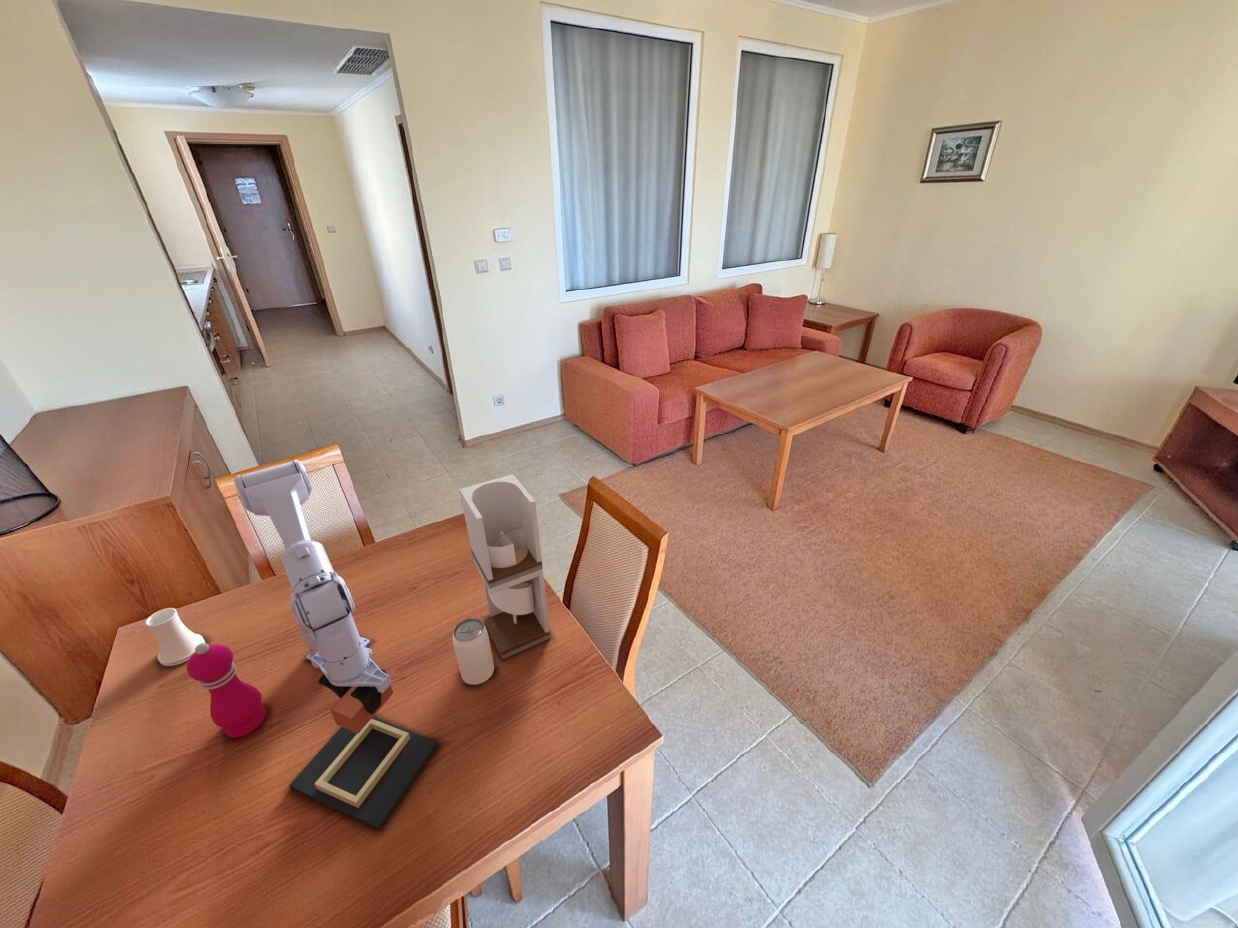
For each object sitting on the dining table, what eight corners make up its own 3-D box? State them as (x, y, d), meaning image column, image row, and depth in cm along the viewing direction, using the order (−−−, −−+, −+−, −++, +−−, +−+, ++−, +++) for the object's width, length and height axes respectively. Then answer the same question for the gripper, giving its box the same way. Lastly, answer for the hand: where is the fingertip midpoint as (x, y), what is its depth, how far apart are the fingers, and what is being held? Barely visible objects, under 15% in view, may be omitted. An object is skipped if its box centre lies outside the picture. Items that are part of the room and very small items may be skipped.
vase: (160, 672, 100) (136, 637, 95) (159, 649, 105) (136, 615, 100) (206, 652, 104) (186, 617, 99) (203, 631, 109) (183, 597, 104)
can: (486, 688, 95) (476, 645, 90) (455, 683, 97) (444, 639, 91) (499, 661, 101) (491, 618, 95) (470, 656, 102) (460, 613, 96)
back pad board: (290, 788, 80) (285, 780, 79) (357, 713, 91) (353, 704, 90) (379, 830, 74) (375, 822, 73) (438, 744, 86) (436, 735, 85)
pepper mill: (278, 710, 92) (237, 633, 82) (241, 746, 86) (192, 668, 76) (250, 698, 94) (206, 623, 84) (212, 733, 88) (160, 656, 78)
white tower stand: (485, 623, 110) (459, 489, 93) (530, 604, 115) (513, 474, 98) (502, 659, 101) (477, 518, 85) (550, 637, 106) (535, 501, 89)
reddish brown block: (336, 724, 82) (329, 709, 80) (373, 685, 88) (367, 670, 86) (358, 734, 80) (351, 718, 78) (393, 692, 87) (388, 677, 85)
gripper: (396, 640, 78) (414, 696, 84) (327, 617, 83) (349, 672, 89) (361, 676, 72) (384, 734, 79) (289, 649, 77) (316, 705, 83)
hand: (363, 703), depth 83 cm, fingers closed on reddish brown block, 4 cm apart
